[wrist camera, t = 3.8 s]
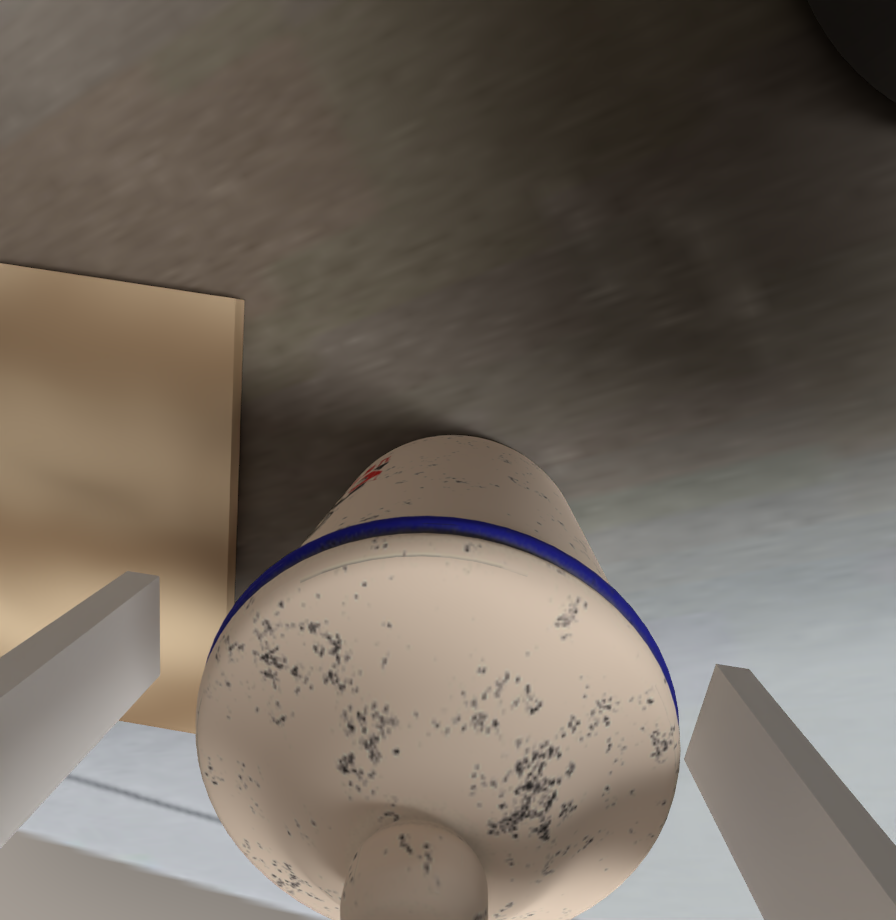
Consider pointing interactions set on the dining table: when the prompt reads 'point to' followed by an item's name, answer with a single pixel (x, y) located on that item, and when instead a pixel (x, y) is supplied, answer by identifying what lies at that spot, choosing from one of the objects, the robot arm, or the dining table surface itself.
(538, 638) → the teacup with lid
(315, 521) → the dining table surface
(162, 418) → the cork mat
